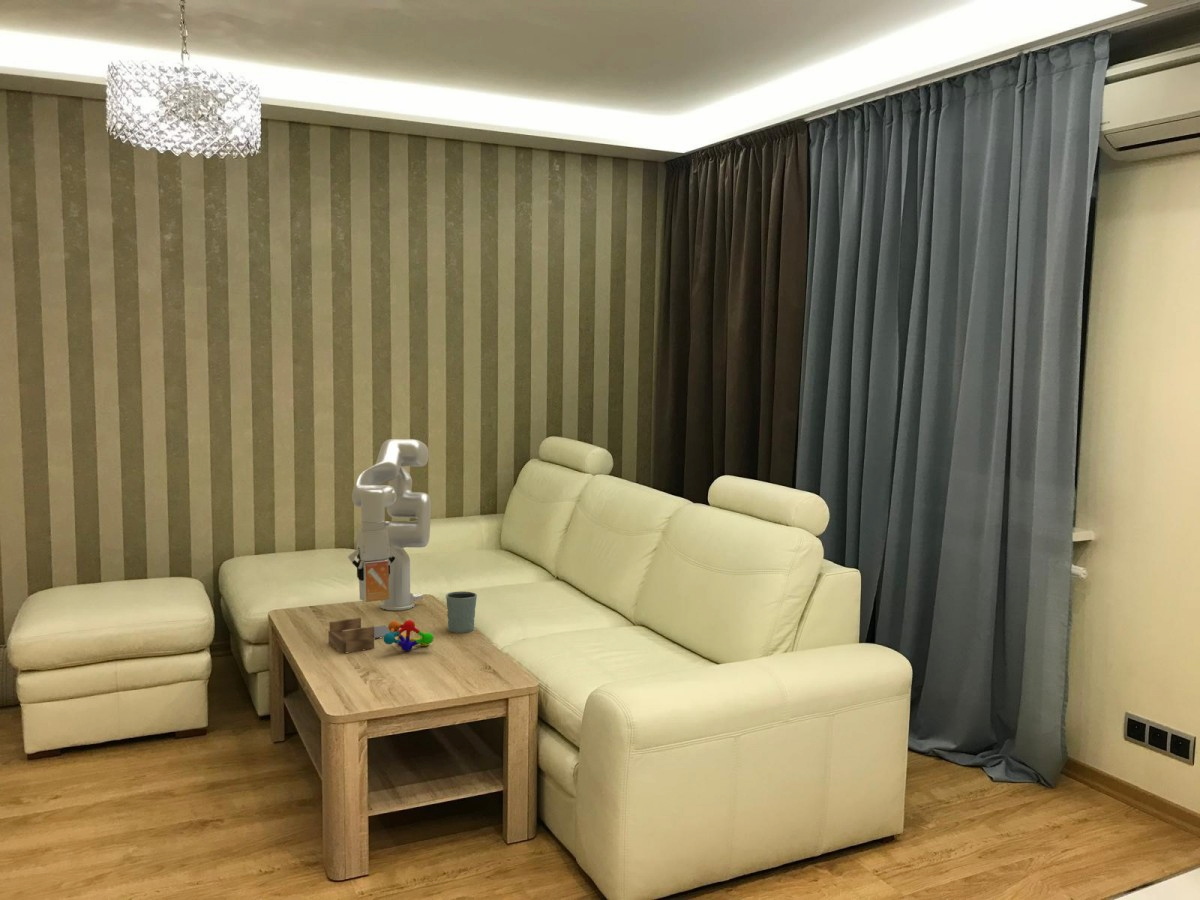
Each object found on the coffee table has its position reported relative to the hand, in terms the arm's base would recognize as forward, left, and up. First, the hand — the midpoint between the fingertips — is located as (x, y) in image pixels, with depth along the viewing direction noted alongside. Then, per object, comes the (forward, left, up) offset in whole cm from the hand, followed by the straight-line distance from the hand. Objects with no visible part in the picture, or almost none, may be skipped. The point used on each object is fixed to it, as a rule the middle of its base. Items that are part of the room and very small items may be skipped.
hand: (373, 578), depth 338 cm
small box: (0, 0, -7) cm, 7 cm away
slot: (+11, +9, -19) cm, 24 cm away
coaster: (0, 0, -19) cm, 19 cm away
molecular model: (-3, +22, -19) cm, 30 cm away
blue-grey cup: (-27, +10, -19) cm, 35 cm away
